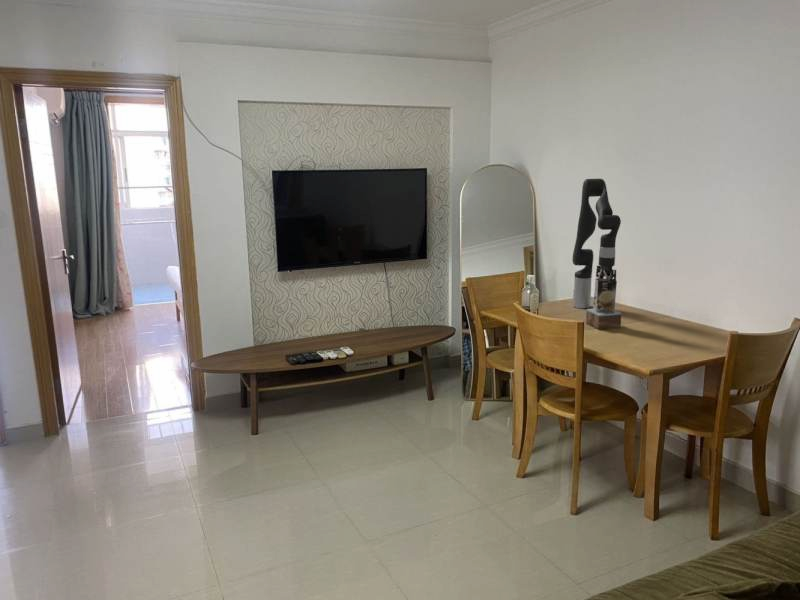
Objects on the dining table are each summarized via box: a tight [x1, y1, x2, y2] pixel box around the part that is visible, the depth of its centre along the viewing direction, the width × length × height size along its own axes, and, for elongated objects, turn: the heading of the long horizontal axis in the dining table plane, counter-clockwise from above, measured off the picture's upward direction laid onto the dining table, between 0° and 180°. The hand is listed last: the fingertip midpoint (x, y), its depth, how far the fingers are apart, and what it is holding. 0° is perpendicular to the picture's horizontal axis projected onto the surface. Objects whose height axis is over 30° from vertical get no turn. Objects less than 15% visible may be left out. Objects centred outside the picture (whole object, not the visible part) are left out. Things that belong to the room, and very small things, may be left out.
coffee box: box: [592, 277, 617, 312], centre depth 298 cm, size 9×6×16 cm
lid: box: [586, 308, 622, 316], centre depth 299 cm, size 12×12×1 cm
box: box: [585, 310, 622, 331], centre depth 300 cm, size 12×12×7 cm
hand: (605, 288), depth 297 cm, fingers open, 8 cm apart
